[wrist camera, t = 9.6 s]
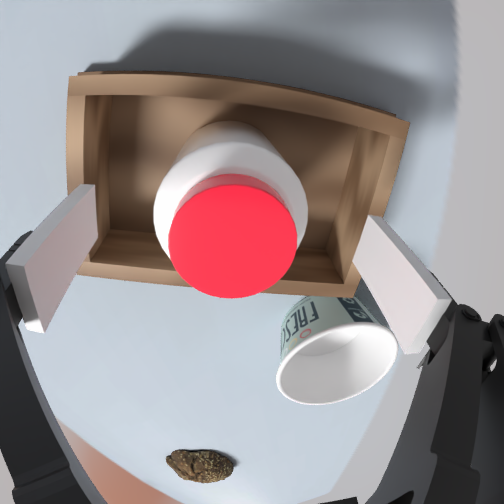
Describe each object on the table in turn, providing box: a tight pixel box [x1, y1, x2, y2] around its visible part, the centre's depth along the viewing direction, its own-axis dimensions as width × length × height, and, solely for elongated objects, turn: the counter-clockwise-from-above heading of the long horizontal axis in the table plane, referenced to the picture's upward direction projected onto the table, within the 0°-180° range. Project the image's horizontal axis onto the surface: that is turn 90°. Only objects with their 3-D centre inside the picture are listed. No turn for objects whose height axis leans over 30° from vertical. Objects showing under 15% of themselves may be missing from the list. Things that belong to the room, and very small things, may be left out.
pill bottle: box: [153, 120, 308, 298], centre depth 18 cm, size 8×8×11 cm
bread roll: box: [166, 450, 234, 483], centre depth 48 cm, size 13×12×5 cm
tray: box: [66, 71, 410, 298], centre depth 21 cm, size 14×24×6 cm, turn 81°
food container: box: [276, 296, 398, 405], centre depth 30 cm, size 12×12×6 cm
